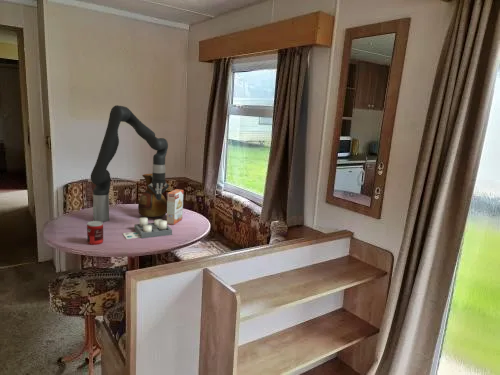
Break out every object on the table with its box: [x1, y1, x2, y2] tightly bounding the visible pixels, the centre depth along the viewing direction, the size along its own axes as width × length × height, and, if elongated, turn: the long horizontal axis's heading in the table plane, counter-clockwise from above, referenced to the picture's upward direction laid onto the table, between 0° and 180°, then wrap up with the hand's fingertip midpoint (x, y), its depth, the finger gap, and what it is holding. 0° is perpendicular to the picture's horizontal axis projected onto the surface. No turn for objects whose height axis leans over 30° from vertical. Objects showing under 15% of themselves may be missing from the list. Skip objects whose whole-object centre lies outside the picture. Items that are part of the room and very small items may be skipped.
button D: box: [159, 219, 168, 230], centre depth 210 cm, size 5×5×5 cm
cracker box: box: [166, 188, 184, 226], centre depth 233 cm, size 14×6×21 cm, turn 168°
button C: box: [143, 225, 152, 232], centre depth 206 cm, size 5×5×5 cm
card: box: [122, 231, 142, 240], centre depth 204 cm, size 9×9×1 cm
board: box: [133, 222, 173, 239], centre depth 212 cm, size 18×17×3 cm
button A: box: [138, 216, 149, 227], centre depth 213 cm, size 5×5×5 cm
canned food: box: [86, 220, 104, 246], centre depth 189 cm, size 8×8×11 cm
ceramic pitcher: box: [137, 173, 167, 218], centre depth 240 cm, size 20×20×30 cm
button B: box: [153, 218, 162, 226], centre depth 218 cm, size 5×5×5 cm
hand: (158, 199), depth 215 cm, fingers closed
